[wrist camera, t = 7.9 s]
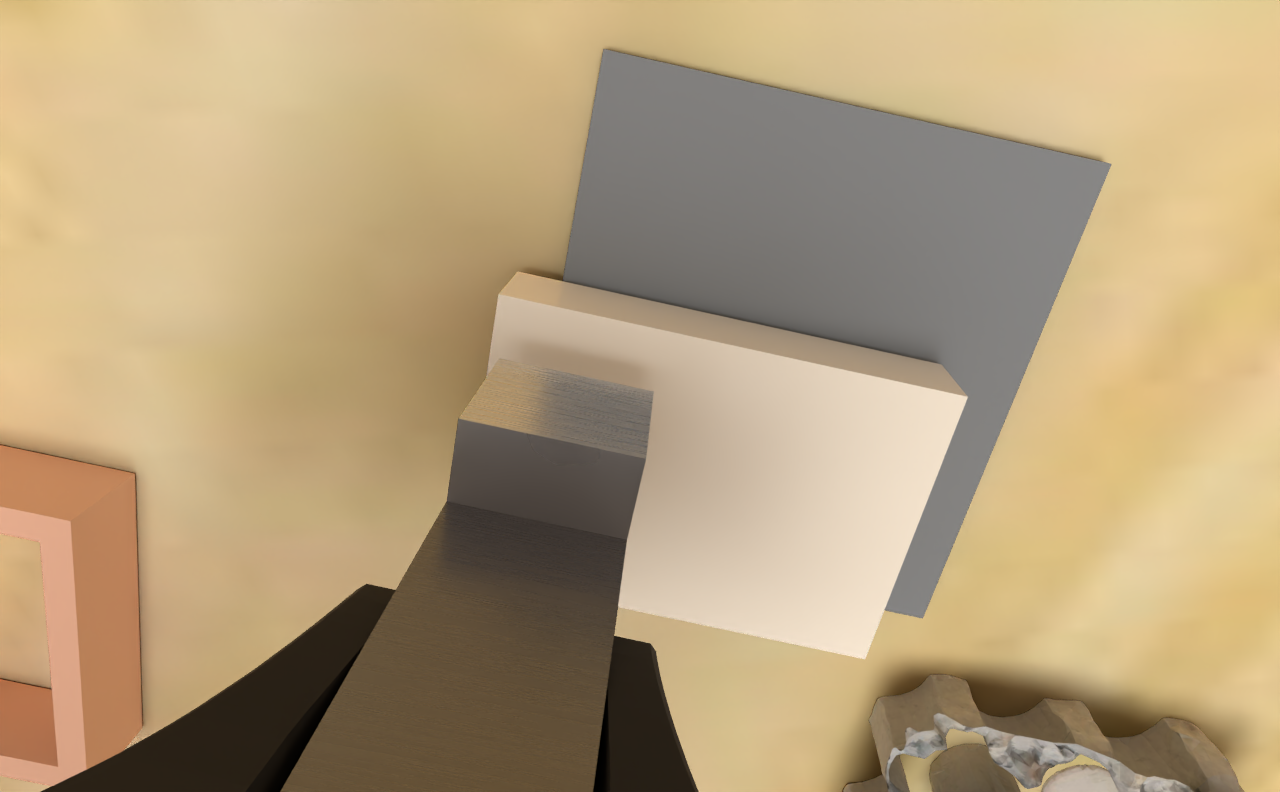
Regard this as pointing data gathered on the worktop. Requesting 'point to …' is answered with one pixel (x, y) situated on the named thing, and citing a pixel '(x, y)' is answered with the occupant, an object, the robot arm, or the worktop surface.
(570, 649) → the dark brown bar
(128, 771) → the robot arm
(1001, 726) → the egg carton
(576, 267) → the mat
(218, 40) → the worktop surface
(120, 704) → the pusher holder
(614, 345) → the glazed tile
